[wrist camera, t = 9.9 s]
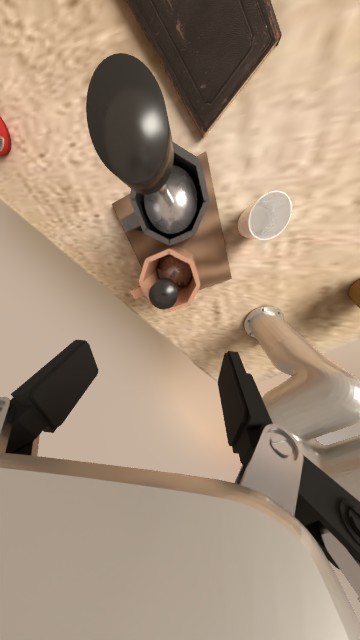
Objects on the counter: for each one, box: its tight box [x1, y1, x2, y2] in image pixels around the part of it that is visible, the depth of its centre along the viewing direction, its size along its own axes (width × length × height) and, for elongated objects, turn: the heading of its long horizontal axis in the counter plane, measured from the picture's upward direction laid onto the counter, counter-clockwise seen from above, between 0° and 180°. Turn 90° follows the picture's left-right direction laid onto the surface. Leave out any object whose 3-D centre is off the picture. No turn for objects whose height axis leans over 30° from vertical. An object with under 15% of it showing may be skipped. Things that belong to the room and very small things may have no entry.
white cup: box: [238, 191, 292, 240], centre depth 32 cm, size 8×8×10 cm
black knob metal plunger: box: [149, 255, 191, 309], centre depth 30 cm, size 9×9×19 cm
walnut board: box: [112, 152, 232, 290], centre depth 39 cm, size 28×24×2 cm
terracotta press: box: [130, 246, 200, 311], centre depth 36 cm, size 12×15×16 cm
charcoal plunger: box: [86, 53, 197, 234], centre depth 16 cm, size 9×9×19 cm
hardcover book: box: [127, 0, 281, 138], centre depth 23 cm, size 16×23×2 cm
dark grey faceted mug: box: [120, 143, 210, 245], centre depth 29 cm, size 12×15×16 cm
